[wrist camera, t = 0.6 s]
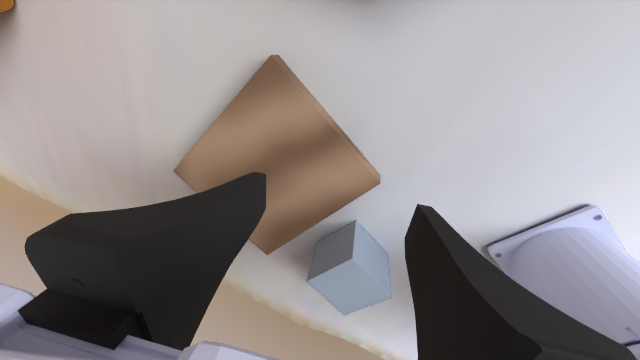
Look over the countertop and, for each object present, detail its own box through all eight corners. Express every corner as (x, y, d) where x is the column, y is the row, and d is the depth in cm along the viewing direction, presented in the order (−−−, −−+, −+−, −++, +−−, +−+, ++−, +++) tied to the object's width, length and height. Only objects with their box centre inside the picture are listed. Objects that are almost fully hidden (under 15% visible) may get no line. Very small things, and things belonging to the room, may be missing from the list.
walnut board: (379, 174, 20) (380, 183, 19) (272, 244, 27) (267, 255, 25) (278, 54, 18) (270, 55, 16) (184, 164, 24) (173, 171, 22)
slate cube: (388, 253, 24) (391, 297, 20) (348, 271, 26) (344, 315, 22) (356, 219, 23) (352, 258, 19) (317, 241, 25) (306, 281, 21)
